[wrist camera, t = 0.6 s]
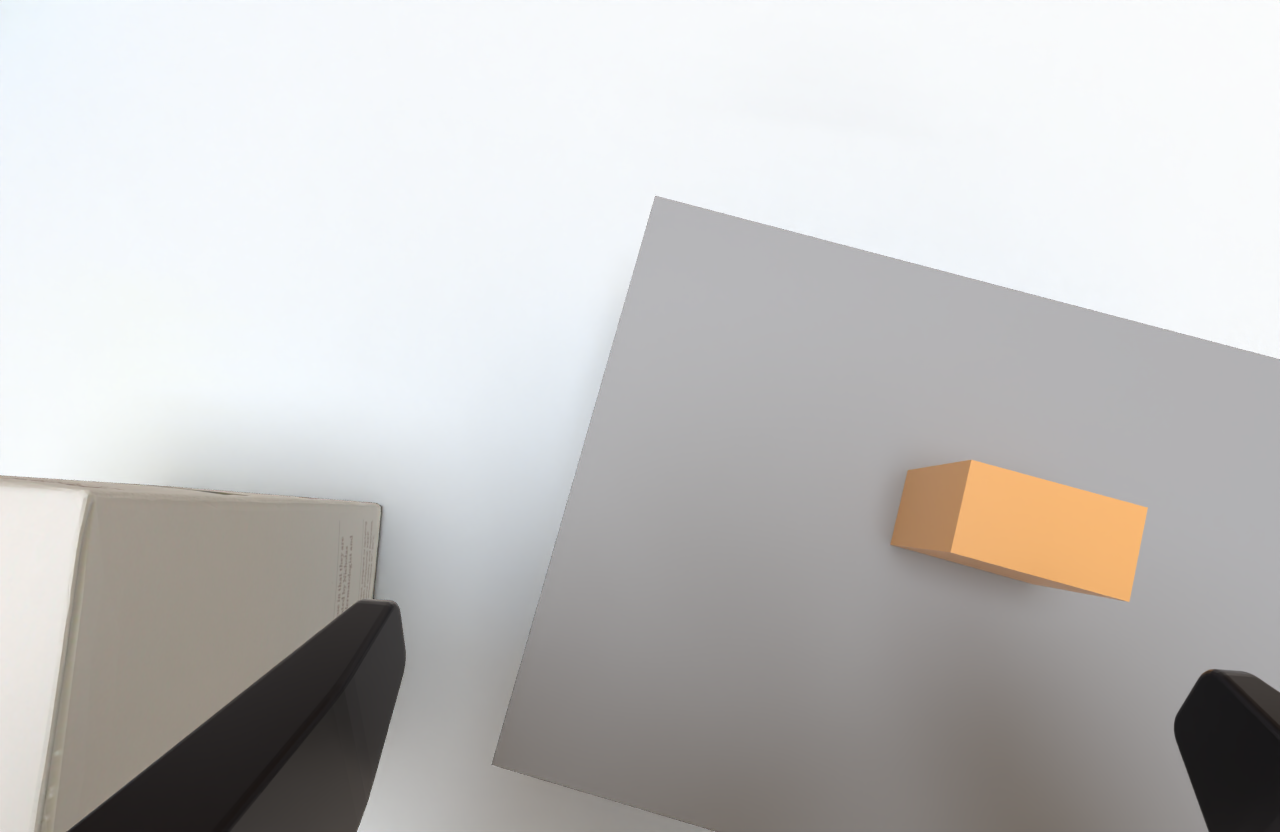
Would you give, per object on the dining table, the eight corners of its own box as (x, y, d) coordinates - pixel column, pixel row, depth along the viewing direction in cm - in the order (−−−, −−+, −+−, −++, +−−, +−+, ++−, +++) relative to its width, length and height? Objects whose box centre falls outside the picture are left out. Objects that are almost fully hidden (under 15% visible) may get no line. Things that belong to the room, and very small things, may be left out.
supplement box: (389, 499, 24) (104, 483, 11) (361, 749, 23) (18, 1031, 10) (154, 483, 24) (-384, 449, 12) (117, 730, 23) (-510, 985, 11)
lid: (1281, 987, 15) (1487, 1141, 12) (497, 755, 16) (451, 829, 12) (1377, 396, 17) (1588, 363, 13) (654, 206, 18) (657, 123, 14)
